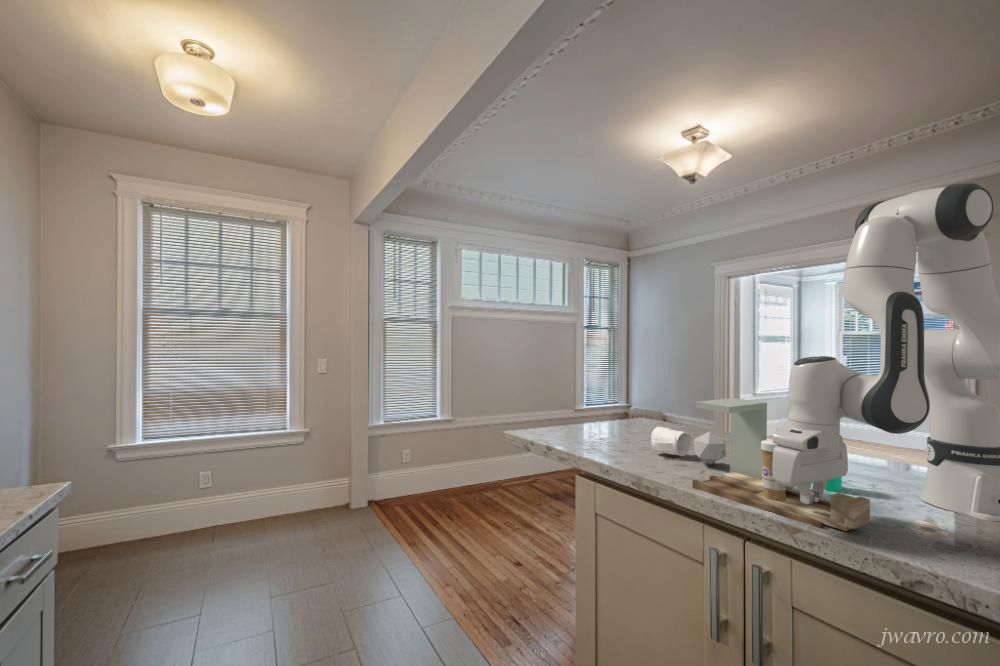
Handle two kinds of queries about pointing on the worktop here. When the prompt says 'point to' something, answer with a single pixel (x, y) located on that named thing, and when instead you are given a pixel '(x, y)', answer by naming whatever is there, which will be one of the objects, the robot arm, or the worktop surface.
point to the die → (709, 448)
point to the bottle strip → (842, 514)
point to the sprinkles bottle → (770, 474)
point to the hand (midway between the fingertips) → (811, 501)
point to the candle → (834, 484)
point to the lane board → (745, 496)
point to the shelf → (743, 432)
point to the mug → (671, 441)
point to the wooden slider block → (746, 480)
